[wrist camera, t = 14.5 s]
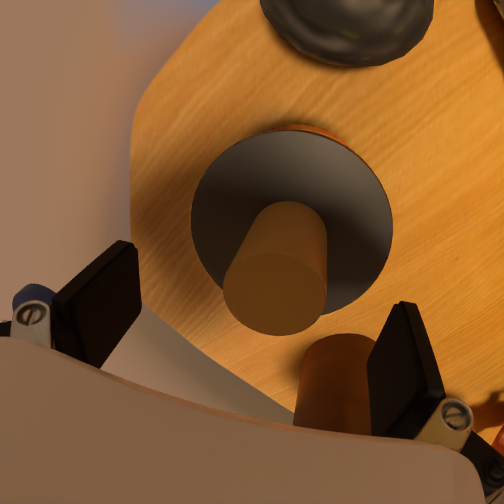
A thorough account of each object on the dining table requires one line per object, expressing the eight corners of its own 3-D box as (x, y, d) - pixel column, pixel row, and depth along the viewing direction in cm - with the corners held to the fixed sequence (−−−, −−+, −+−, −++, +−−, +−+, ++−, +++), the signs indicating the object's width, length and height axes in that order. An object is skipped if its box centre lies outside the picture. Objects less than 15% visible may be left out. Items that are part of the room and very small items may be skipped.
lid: (195, 283, 19) (150, 354, 14) (207, 114, 14) (139, 129, 9) (356, 319, 18) (360, 404, 13) (410, 155, 13) (462, 194, 8)
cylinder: (293, 382, 34) (263, 530, 18) (314, 325, 29) (288, 511, 14) (367, 394, 32) (363, 538, 17) (399, 341, 28) (418, 514, 12)
